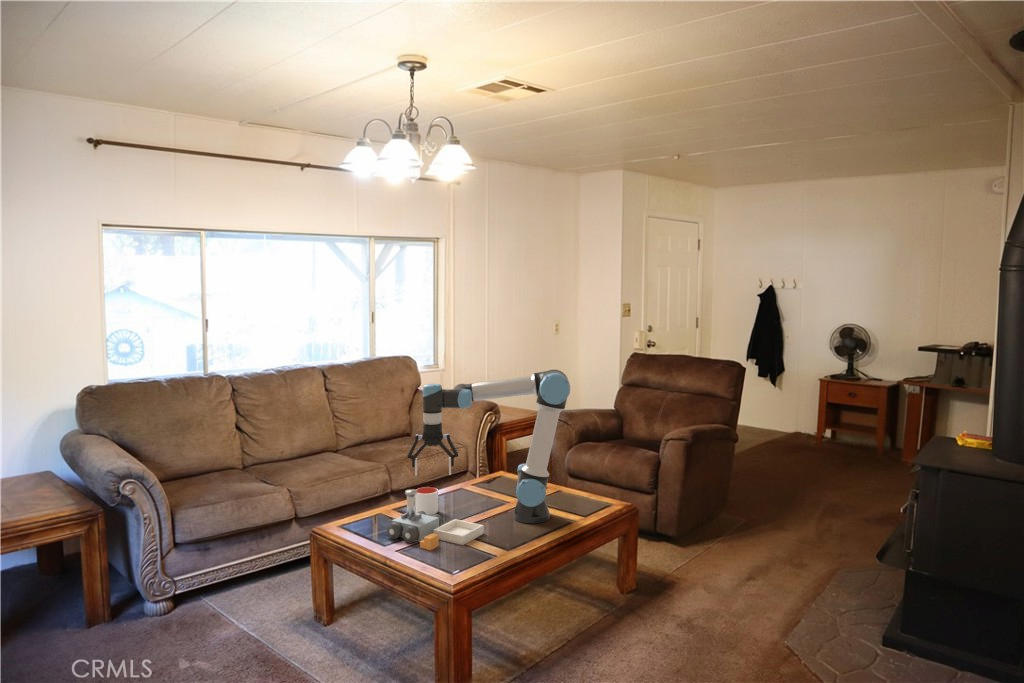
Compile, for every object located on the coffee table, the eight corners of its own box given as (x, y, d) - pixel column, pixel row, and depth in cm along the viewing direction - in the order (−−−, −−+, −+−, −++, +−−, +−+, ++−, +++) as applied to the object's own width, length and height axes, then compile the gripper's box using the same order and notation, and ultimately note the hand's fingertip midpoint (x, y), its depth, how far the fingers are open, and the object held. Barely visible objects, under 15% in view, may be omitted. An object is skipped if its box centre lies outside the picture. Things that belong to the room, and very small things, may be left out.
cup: (410, 515, 290) (410, 492, 289) (421, 508, 299) (421, 486, 298) (431, 518, 286) (431, 494, 286) (442, 510, 296) (442, 488, 295)
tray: (483, 533, 268) (483, 525, 268) (462, 545, 256) (462, 536, 256) (455, 527, 275) (454, 519, 275) (433, 538, 263) (433, 529, 263)
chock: (438, 546, 255) (438, 534, 255) (430, 550, 251) (430, 538, 251) (428, 543, 258) (428, 532, 257) (419, 548, 254) (419, 536, 253)
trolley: (443, 530, 272) (443, 511, 271) (413, 545, 256) (413, 525, 255) (416, 523, 279) (416, 506, 279) (385, 538, 263) (385, 519, 263)
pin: (419, 517, 269) (419, 490, 268) (412, 520, 265) (411, 493, 264) (410, 515, 272) (410, 488, 271) (403, 518, 268) (402, 491, 267)
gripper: (463, 420, 276) (463, 471, 278) (401, 421, 274) (402, 472, 275) (464, 423, 269) (464, 476, 270) (400, 425, 266) (401, 478, 268)
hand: (433, 474), depth 273 cm, fingers open, 13 cm apart
